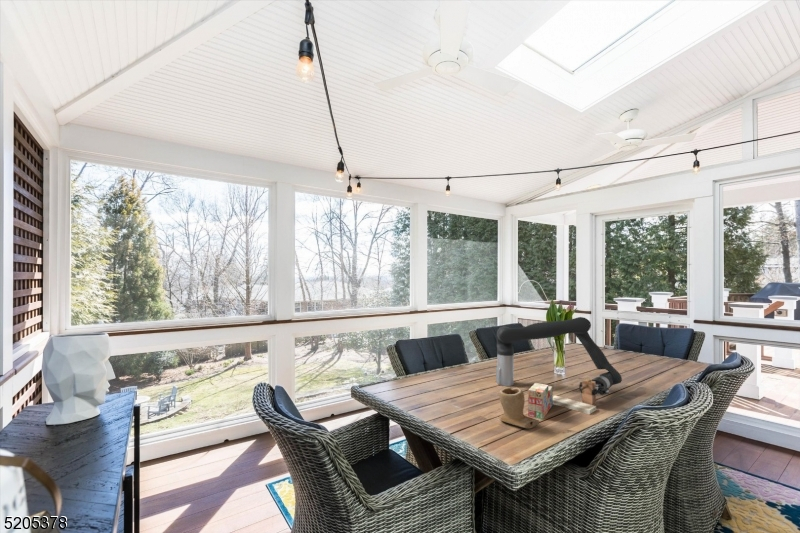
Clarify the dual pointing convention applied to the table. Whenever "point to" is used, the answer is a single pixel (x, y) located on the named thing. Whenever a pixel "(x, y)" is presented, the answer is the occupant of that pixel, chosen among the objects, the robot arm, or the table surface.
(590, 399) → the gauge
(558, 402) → the board
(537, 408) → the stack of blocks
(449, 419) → the table surface
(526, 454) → the table surface
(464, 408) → the table surface
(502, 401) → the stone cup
